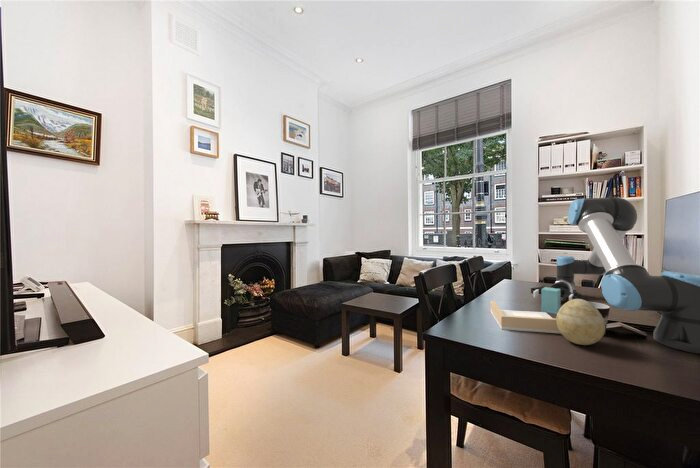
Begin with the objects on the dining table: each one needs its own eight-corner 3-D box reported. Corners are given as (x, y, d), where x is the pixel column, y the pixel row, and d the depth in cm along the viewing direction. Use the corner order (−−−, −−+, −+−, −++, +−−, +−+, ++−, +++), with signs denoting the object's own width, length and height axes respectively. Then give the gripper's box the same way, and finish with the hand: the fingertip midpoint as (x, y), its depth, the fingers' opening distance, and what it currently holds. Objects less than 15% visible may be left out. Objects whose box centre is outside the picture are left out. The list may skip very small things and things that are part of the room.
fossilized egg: (573, 351, 90) (573, 305, 89) (547, 335, 102) (548, 294, 102) (615, 352, 89) (616, 304, 88) (585, 335, 101) (585, 294, 101)
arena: (568, 334, 103) (568, 320, 103) (501, 329, 109) (501, 316, 109) (545, 314, 124) (545, 303, 124) (490, 311, 130) (490, 300, 130)
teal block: (560, 310, 129) (560, 289, 128) (557, 314, 125) (557, 291, 124) (544, 308, 133) (544, 287, 133) (541, 311, 129) (541, 289, 128)
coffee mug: (597, 327, 108) (597, 301, 108) (616, 336, 100) (616, 308, 99) (564, 327, 110) (564, 301, 109) (580, 336, 101) (580, 308, 101)
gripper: (593, 300, 136) (586, 310, 122) (533, 292, 154) (520, 300, 140) (593, 284, 136) (586, 293, 121) (533, 278, 154) (520, 285, 139)
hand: (551, 297), depth 130 cm, fingers open, 13 cm apart
